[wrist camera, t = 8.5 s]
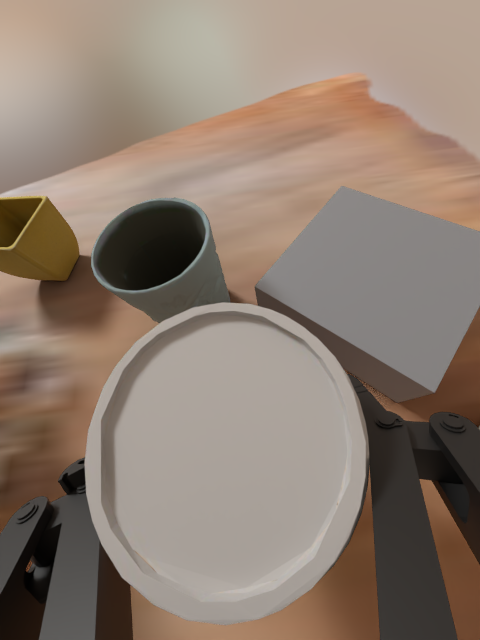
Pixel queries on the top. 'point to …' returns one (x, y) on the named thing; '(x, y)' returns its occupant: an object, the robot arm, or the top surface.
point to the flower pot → (35, 239)
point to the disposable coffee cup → (226, 463)
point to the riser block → (380, 290)
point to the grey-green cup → (160, 258)
